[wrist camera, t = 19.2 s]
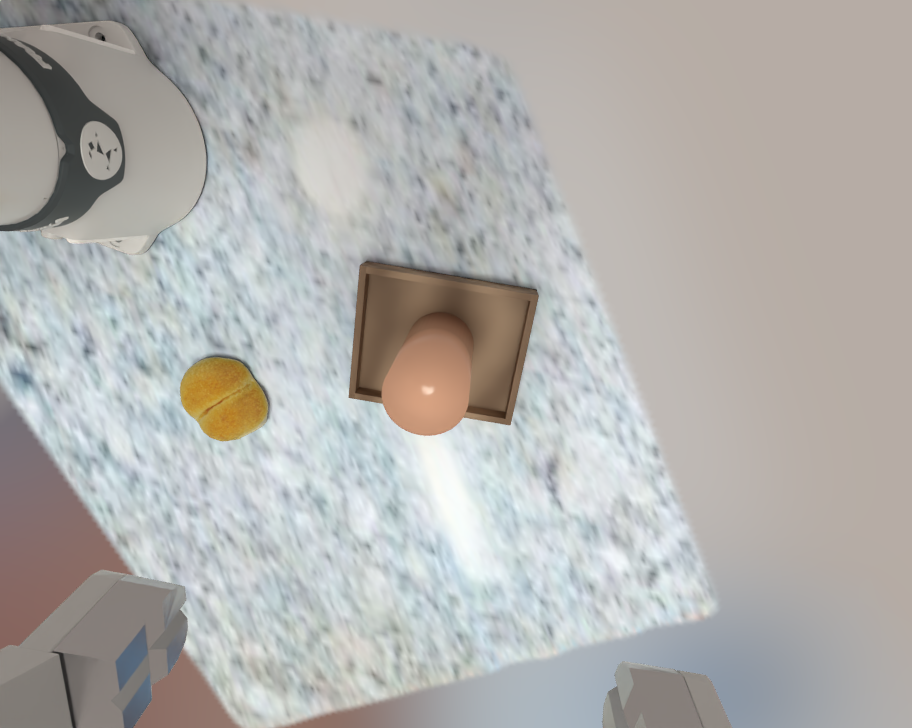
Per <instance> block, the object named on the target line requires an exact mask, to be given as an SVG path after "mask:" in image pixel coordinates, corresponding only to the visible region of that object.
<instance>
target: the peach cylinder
mask: <svg viewBox="0 0 912 728" xmlns="http://www.w3.org/2000/svg"><path fill="white" fill-rule="evenodd" d="M473 350H474V341H473V336H472V333H471V331H470V329H469V328H468V326H467V325H466V324H465V323H464V322H463V321H462V320H461V319H459V318H458V317H456V316H454V315H452V314H448V313H443V312H436V313H431V314H427V315H425V316H423V317H421V318H420V319H419V320H417V321H416V322H415V323H414V325H413V326H412V327H411V329H410V331H409V333H408V335H407V337H406V339H405V341H404V343H403V345H402V347H401V349H400V351H399V352H398V354H397V356H396V358H395V360H394V362H393V364H392V366H391V368H390V370H389V372H388V374H387V376H386V377H385V380H384V382H383V386H382V401H383V405H384V408H385V410H386V412H387V414H388V415H389V417H390V418H391V419H392V420H393V421H394V422H395V423H396V424H397V425H398V426H399V427H401V428H402V429H404V430H406V431H408V432H411V433H414V434H418V435H425V436H430V435H437V434H441V433H444V432H446V431H448V430H450V429H452V428H453V427H455V426H456V425H457V424H458V423H459V422H460V421H461V419H462V418H463V416H464V415H465V413H466V410H467V407H468V402H469V392H470V382H471V371H472V360H473Z"/></svg>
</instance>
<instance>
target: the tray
mask: <svg viewBox="0 0 912 728" xmlns="http://www.w3.org/2000/svg"><path fill="white" fill-rule="evenodd" d="M538 297H539V295H538V292H537V290H535V289H529V288H523V287H518V286H512V285H506V284H500V283H494V282H488V281H482V280H476V279H470V278H464V277H458V276H452V275H446V274H440V273H434V272H428V271H422V270H416V269H410V268H404V267H398V266H392V265H386V264H380V263H374V262H368V261H366V262H365V263H363V264H361V265H360V269H359V281H358V293H357V305H356V317H355V329H354V340H353V352H352V364H351V376H350V388H349V398H353V399H359V400H365V401H371V402H376V403H382V404H383V401H382V386H383V382H384V380H385V377H386V376H387V374H388V372H389V370H390V368H391V366H392V364H393V362H394V360H395V358H396V356H397V354H398V352H399V351H400V349H401V347H402V345H403V343H404V341H405V339H406V337H407V335H408V333H409V331H410V329H411V327H412V326H413V325H414V323H415V322H416V321H417V320H419V319H420V318H421V317H423V316H425V315H427V314H431V313H436V312H443V313H448V314H452V315H454V316H456V317H458V318H459V319H461V320H462V321H463V322H464V323H465V324H466V325H467V326H468V328H469V329H470V331H471V333H472V336H473V341H474V350H473V360H472V371H471V382H470V392H469V402H468V407H467V410H466V413H465V415H464V416H463V417H464V418H470V419H476V420H482V421H488V422H494V423H500V424H505V425H511V420H512V416H513V411H514V407H515V402H516V397H517V393H518V388H519V384H520V379H521V375H522V370H523V365H524V361H525V356H526V352H527V347H528V342H529V338H530V333H531V329H532V324H533V320H534V315H535V310H536V306H537V301H538Z"/></svg>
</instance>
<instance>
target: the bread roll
mask: <svg viewBox="0 0 912 728" xmlns="http://www.w3.org/2000/svg"><path fill="white" fill-rule="evenodd" d="M180 395H181V401H182V405H183V407H184V409H185V410H186V411H187V412H188V414H190V415H191V416H192V417H193V418H194V419H195V420H197V422H198V423H199V425H200V427H201V429H202V430H203V432H204V433H206V434H207V435H208V436H209V437H211V438H213V439H216V440H219V441H230V440H236V439H240V438H241V437H243V436H246V435H248V434H249V433H252V432H254V431H256V430H257V429H259V428H261V427H262V426H263V425H264V424H265V423H266V422H267V413H268V402H267V398H266V396H265V394H264V392H263V390H262V389H261V387H260V386H259V385H258V383H257V382H256V381H255V379H254V378H253V376H252V375H251V373H250V372H249V370H248V369H247V368H246V367H245V365H244V364H242V363H241V362H240V361H237V360H234V359H228V358H221V357H211V358H205V359H202V360H200V361H198V362H197V363H195V364H194V365H193V366H191V367H190V368H189V369H188V370H187V372H186V373H185V375H184V377H183V379H182V382H181V386H180Z"/></svg>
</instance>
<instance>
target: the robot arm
mask: <svg viewBox="0 0 912 728" xmlns="http://www.w3.org/2000/svg"><path fill="white" fill-rule="evenodd" d="M103 35H104V37H105V42H104V41H102V40H101V38H102V36H103ZM205 175H206V150H205V144H204V139H203V135H202V132H201V129H200V126H199V123H198V121H197V118H196V116H195V114H194V112H193V110H192V108H191V107H190V105H189V103H188V102H187V100H186V99H185V97H184V96H183V95H182V93H181V92H180V91H179V90H178V88H177V87H176V86H175V85H174V84H173V83H172V82H171V81H170V80H169V79H168V78H167V77H166V76H165V75H164V74H162V73H161V72H160V71H159V70H158V69H157V68H156V67H155V66H154V65H153V64H152V63H151V62H150V61H149V60H148V58H147V57H146V55H145V53H144V51H143V49H142V48H141V46H140V44H139V42H138V41H137V39H136V38H135V36H134V35H133V33H132V32H131V31H130V29H129V28H128V27H127V26H125V25H124V24H122V23H118V22H114V21H94V22H80V23H67V24H53V25H39V26H26V27H12V28H0V231H20V232H29V231H39V230H41V235H42V236H43V237H45V238H48V239H55V240H59V239H62V238H66V240H67V241H68V242H69V243H74V244H83V243H98V244H101V245H104V246H106V247H109V248H112V249H115V250H117V251H120V252H123V253H126V254H129V255H139V254H143V253H145V252H146V251H147V250H148V249H149V247H150V246H151V245H152V243H153V242H154V240H155V239H156V237H157V235H158V234H159V233H160V232H161V231H163V230H164V229H166V228H168V227H170V226H172V225H174V224H175V223H177V222H179V221H180V220H181V219H183V218H184V217H185V216H186V215H187V214H188V213H189V212H190V211H191V209H192V208H193V207H194V205H195V204H196V202H197V200H198V198H199V196H200V194H201V191H202V188H203V185H204V181H205ZM121 240H122V241H121ZM185 601H186V593H185V587H184V586H181V585H177V584H172V583H167V582H162V581H157V580H152V579H148V578H143V577H138V576H133V575H127V574H122V573H116V572H111V571H106V570H100V571H98V572H97V573H94V574H92V575H91V576H89V578H88V579H86V581H84V582H83V583H82V584H81V585H80V587H78V588H77V589H76V590H75V591H74V592H73V593H72V594H71V595H70V596H69V597H68V598H67V599H66V600H65V601H64V602H63V603H62V604H61V605H60V606H59V607H58V608H57V609H56V610H55V611H54V612H53V613H52V614H51V615H50V616H49V617H48V618H47V619H46V620H45V621H44V622H43V623H42V624H41V625H39V626H38V628H37V629H36V630H34V631H33V632H32V633H31V634H30V635H29V636H28V637H27V638H26V639H25V640H24V641H23V642H22V643H21V644H20V645H19V646H12V645H9V646H7V647H5V648H3V649H1V650H0V728H133V727H134V726H135V724H136V723H137V721H138V720H139V718H140V717H141V715H142V714H143V712H144V711H145V709H146V708H147V706H148V705H149V703H150V702H151V700H152V690H151V689H152V688H151V685H153V684H155V683H156V682H157V681H159V680H161V679H162V678H164V677H165V676H167V675H168V674H169V673H170V671H171V669H172V668H173V666H174V665H175V663H176V661H177V660H178V658H179V655H180V653H181V651H182V648H183V646H184V643H185V641H186V635H187V630H188V623H187V617H186V616H185V615H184V614H183V612H182V611H181V610H180V608H181V607H182V606H183V604H184V603H185ZM615 679H616V683H617V687H615V688H613V689H612V690H610V691H609V692H608V693H607V697H606V699H605V703H604V707H603V721H602V723H603V728H732V726H731V724H730V722H729V720H728V717H727V715H726V713H725V711H724V709H723V706H722V704H721V702H720V700H719V697H718V695H717V693H716V691H715V688H714V686H713V684H712V682H711V681H710V679H709V678H708V677H707V676H706V675H701V674H696V673H690V672H684V671H676V670H674V669H668V668H663V667H657V666H650V665H644V664H638V663H631V662H625V661H623V662H621V663H620V664H619V665H618V668H617V670H616V672H615Z"/></svg>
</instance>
